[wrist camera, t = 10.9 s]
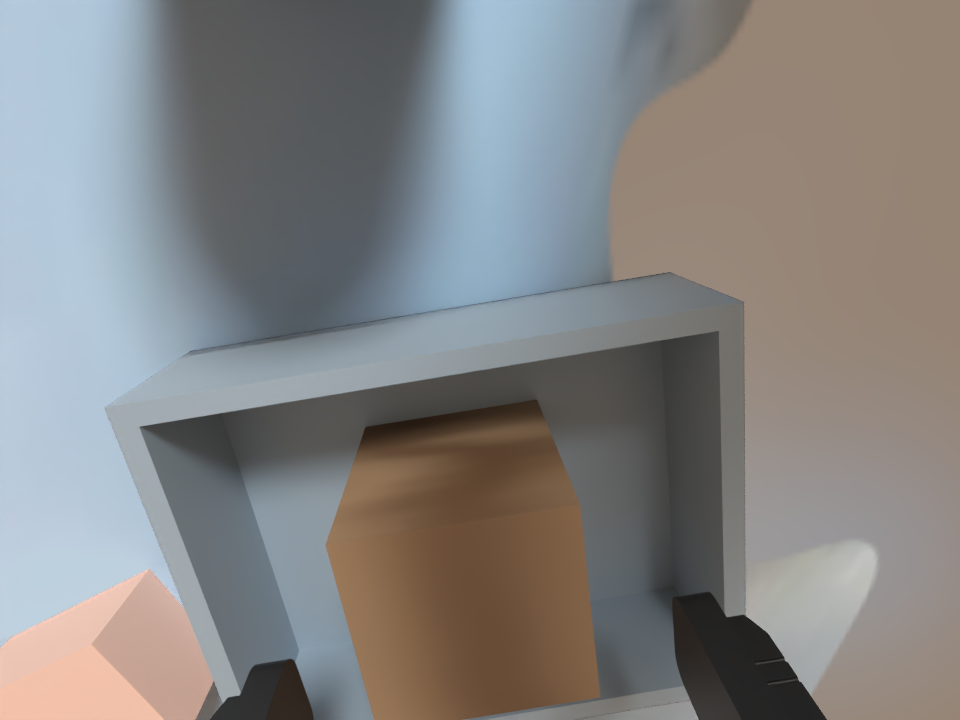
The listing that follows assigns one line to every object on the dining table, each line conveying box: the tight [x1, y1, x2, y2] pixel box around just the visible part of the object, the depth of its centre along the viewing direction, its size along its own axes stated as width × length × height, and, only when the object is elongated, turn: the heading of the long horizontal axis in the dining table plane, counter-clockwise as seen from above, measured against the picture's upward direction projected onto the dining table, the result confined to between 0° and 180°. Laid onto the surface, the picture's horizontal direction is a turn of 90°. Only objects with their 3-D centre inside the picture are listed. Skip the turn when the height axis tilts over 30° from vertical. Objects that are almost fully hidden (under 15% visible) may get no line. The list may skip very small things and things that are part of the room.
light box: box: [0, 569, 213, 720], centre depth 19 cm, size 4×6×4 cm
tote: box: [104, 272, 746, 720], centre depth 17 cm, size 12×15×4 cm
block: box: [325, 400, 600, 720], centre depth 15 cm, size 6×6×6 cm
